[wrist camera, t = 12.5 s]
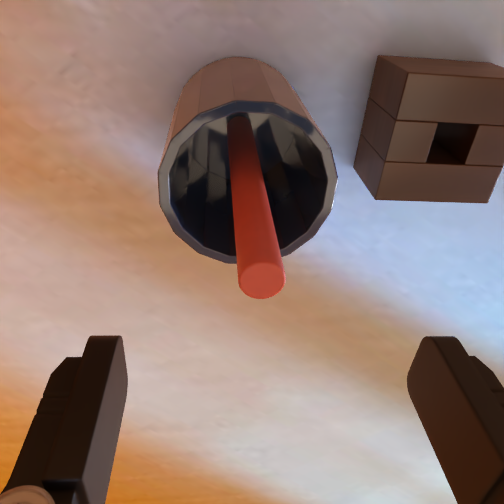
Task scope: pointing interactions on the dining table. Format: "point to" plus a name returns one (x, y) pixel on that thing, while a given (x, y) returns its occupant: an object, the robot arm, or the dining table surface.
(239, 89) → the tumbler
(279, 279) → the red rod
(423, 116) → the holder
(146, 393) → the dining table surface
